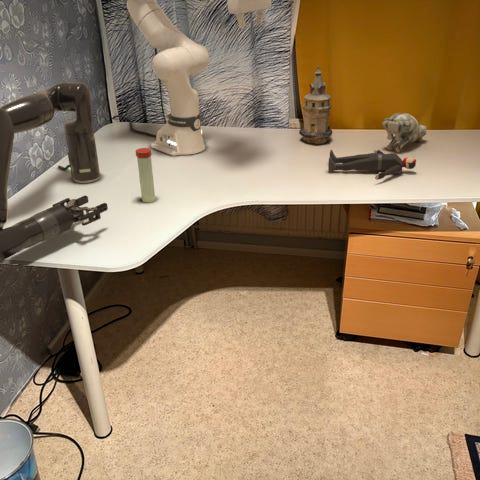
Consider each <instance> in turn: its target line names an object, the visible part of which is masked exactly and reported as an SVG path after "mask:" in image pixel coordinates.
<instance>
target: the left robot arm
mask: <svg viewBox="0 0 480 480" xmlns="http://www.w3.org/2000/svg"><path fill="white" fill-rule="evenodd" d="M92 104H93V103H92V95H91V91H90V88H89V86H88V85H87V84H86V83H84V82H77V81H76V82H73V81H61V82H58V83H56V84H54V85H52V86H51V87H48V88H47V89H45V90H41V91H38V92H34V93H31V94H27V95H24V96H22V97H19V98H17V99H14V100H12V101H10V102H8V103H6V104H4V105H2V106H0V262H3V261H5V260H7V259H9V258H10V257H12V256H14V255H16V254H18V253H20V252H22V251H23V250H26V249H29V248H32V247H33V246H36V245H38V244H40V243H42V242H46V241H48V240H50V239H52V238H55V237H57V236H59V235H61V234H64V233H66V232H68V231H70V230H71V229H72V226H73V225H74V224H76V223H79V222H80V223H81V226H84V227H85V226H87V225H89V224H92V223H94V222H96V221H99V220H100V219H101V218H102V217H101V214H103V213H104V212H107V211H108V210H109V208H108V203H107V202H102V203H100V204H98V205H96V206H94V207H93V206H92V207H89V206H84V205H86V204H89V196H88V195H83V196H80V197H78V198H72V199H71V198H70V197H67V198H65V199H62V200H60V201H58V202H55V203H53V204H52V206H51V207H49V208H46V209H44V210H42V211H39V212H37V213H35V214H33V215H32V216H29V217H28V218H25V219H23V220H20V221H19V222H16V223H14V224H12V225H11V226H7V227H5V225H6V224H7V222H8V219H9V212H8V211H9V205H8V203H9V202H8V183H9V174H10V168H11V161H12V156H13V155H12V154H13V147H14V139H15V134H19V133H24V132H27V131H31V130H34V129H38V128H41V127H42V126H45V125H46V124H48V123H49V122H51V121H52V119H53V118H54V116H55V113H57V112H75V118H74V119H70V120H68V121H66V122H65V123H64V125H63V128H64V135H65V139H66V144H67V151H68V152H67V159H68V164H67V165H66V166H65V167H63V166H62V165H57V168H58V169H60V170H62V171H67V170H68V169H69V170H70V175H71V178H72V180H73V182H75V183H78V184H90V183H94V182H97V181H99V180H100V179H101V177H102V176H101V171H100V163H99V158H98V151H97V144H96V139H95V138H96V137H95V132H94V114H93V105H92ZM65 204H66V205H65ZM4 227H5V228H4Z"/></svg>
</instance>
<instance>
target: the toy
mask: <svg viewBox="0 0 480 480" xmlns="http://www.w3.org/2000/svg"><path fill="white" fill-rule="evenodd" d="M327 163H328V173H332V172H336V171H343V172H348V171H358V172H365V171H367V172H375V171H379V172H378V173H377V174H375V176H374V179H375V180H376V181H378V180H382V179H384V178H385V177H386V176H389V175H392V174H393V175H394V174H395V175H396V174H399V173H401V172H402V170H403V168H405V169H407V170H413V169H414V168H415V167H416V165H417V159H416V158H414V157H407V156H406V157H404V158H403V159H402V158H401V157H400V156H399V155H398V154H397V153H395V152H391V153H384V152H383V151H381V150H380V149H374V150H373V152H370V153H362V154H355V155H348V156H347V155H346V156H341V157H340V156H339V157H337V156H336V155H335V153H334V151H333V150H332V149H330V151H329V157H328V161H327ZM380 170H385V171H383V172H381V171H380Z"/></svg>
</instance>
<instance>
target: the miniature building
mask: <svg viewBox="0 0 480 480" xmlns="http://www.w3.org/2000/svg"><path fill="white" fill-rule="evenodd" d="M320 67H321V66H320V65H317V66H316V68H317V69H316V71H315V72H314V75H315V76H314V79H313V81H312V83H310V84H309V85H308V86H309V93H307V94H306V95H304V96H303V97H302V98H303V105H301V106H302V109H303V114H302V115H303V124H302V127H300V129H299V132H298V134H299V136H300V137H302V139H303V141H305V142H307V143H309V144H314V145H320V144H321V145H322V144H325V143H326V142H327V141H328V140H329V139H330V137H332V135H333V129H331V125H329V120H330V115H331V108H332V106H333V105H332V104H331V98H332V96H331V95H330V94H328V93H326V81H324V82H323V78H322V71H321V70H320Z"/></svg>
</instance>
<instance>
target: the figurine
mask: <svg viewBox="0 0 480 480" xmlns="http://www.w3.org/2000/svg"><path fill="white" fill-rule="evenodd" d="M381 126H382V127H383V129H384V130H385V131H386V132H387V137H386V140H389V141H390V143H389V144H388V145H387V146H386V149H387V150H388V151H393V149H394V146H395V145H396V144H397V143H398V144H397V146H396V147H395V152H396V153H401V151H402V148H403V147H404V146H405V145H406V144H407V143H414V142H423V138H424V137H425V136H426V135H427V130H428V128H427V126H426V125H423V124H419V122H418V120H417V119H416V118H415V117H414V116H413V115H412V114H410V113H405V112H397V113H394V114H392V115H391V116H390V117H385V118H384V119H383V121H382V122H381Z"/></svg>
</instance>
